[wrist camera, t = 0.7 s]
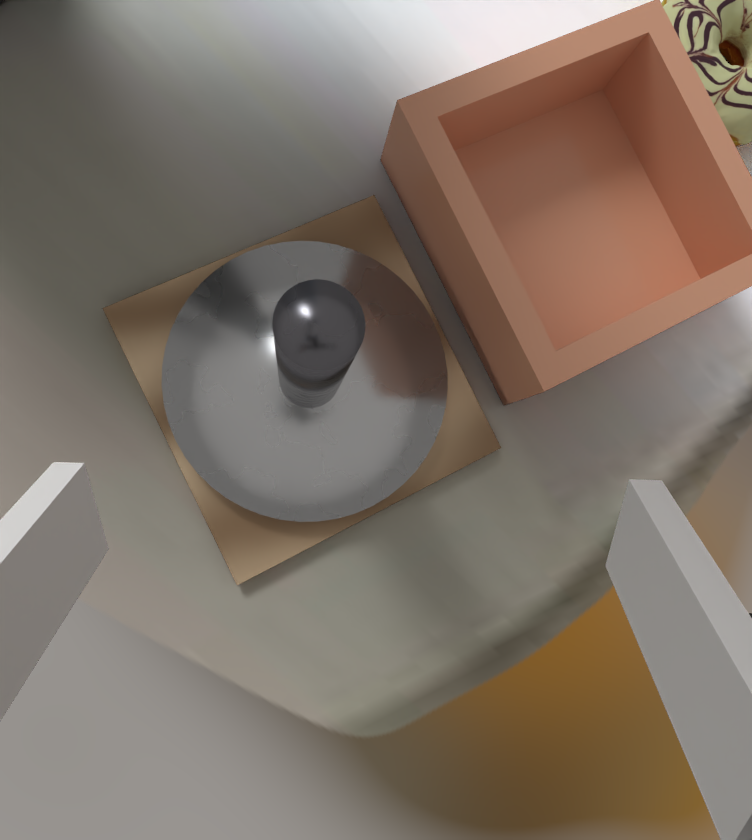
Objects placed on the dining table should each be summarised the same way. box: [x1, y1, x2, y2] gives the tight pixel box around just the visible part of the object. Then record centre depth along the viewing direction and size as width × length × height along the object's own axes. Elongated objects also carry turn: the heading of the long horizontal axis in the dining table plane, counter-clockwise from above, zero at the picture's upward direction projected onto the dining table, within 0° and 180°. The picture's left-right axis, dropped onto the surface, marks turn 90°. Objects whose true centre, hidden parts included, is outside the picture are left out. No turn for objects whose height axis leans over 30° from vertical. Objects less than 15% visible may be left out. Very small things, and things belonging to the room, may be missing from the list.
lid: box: [162, 241, 448, 522], centre depth 26 cm, size 15×15×12 cm
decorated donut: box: [661, 0, 752, 146], centre depth 37 cm, size 10×11×4 cm
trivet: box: [103, 195, 501, 585], centre depth 32 cm, size 16×16×1 cm
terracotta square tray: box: [380, 0, 752, 405], centre depth 33 cm, size 16×16×6 cm
